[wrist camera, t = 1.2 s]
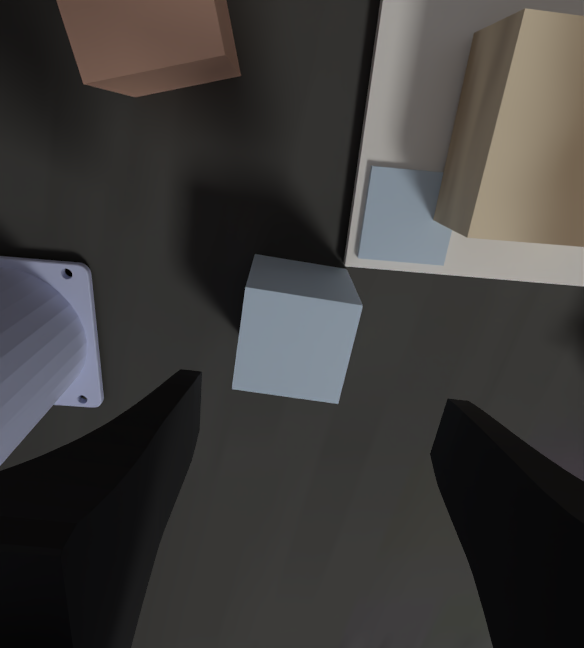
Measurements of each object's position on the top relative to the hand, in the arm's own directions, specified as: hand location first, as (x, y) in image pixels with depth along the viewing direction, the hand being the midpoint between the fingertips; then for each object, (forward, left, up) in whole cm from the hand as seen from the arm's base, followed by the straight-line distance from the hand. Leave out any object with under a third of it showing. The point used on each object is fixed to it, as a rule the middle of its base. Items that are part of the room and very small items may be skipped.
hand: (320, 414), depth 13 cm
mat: (+8, +8, -10) cm, 15 cm away
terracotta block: (-6, +11, -10) cm, 16 cm away
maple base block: (+9, +8, -9) cm, 15 cm away
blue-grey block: (-1, 0, -10) cm, 10 cm away
